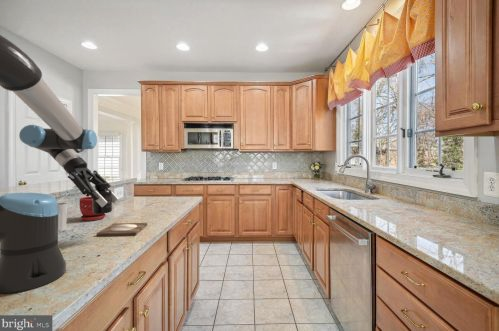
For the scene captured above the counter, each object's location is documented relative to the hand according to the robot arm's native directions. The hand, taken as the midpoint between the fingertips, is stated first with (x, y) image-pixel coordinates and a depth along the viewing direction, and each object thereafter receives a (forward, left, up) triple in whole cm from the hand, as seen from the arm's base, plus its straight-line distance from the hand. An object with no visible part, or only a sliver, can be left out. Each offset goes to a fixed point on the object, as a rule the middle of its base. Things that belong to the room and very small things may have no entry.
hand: (110, 202), depth 97 cm
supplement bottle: (+1, +3, -4) cm, 6 cm away
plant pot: (+36, +25, -15) cm, 47 cm away
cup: (+16, +31, -15) cm, 38 cm away
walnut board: (+12, 0, -15) cm, 20 cm away
